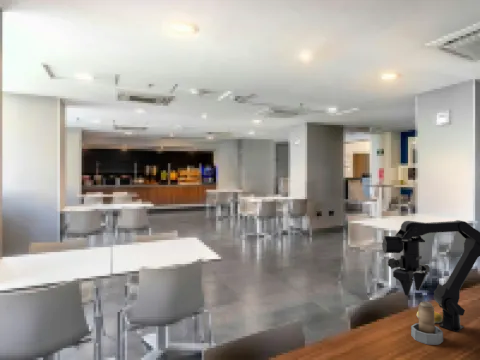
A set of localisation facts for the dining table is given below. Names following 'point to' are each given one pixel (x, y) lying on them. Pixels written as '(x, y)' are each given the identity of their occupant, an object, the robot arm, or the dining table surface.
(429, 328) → the pepper mill
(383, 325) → the dining table surface
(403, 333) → the dining table surface
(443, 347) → the dining table surface
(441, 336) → the bin
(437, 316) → the bread roll
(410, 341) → the dining table surface
